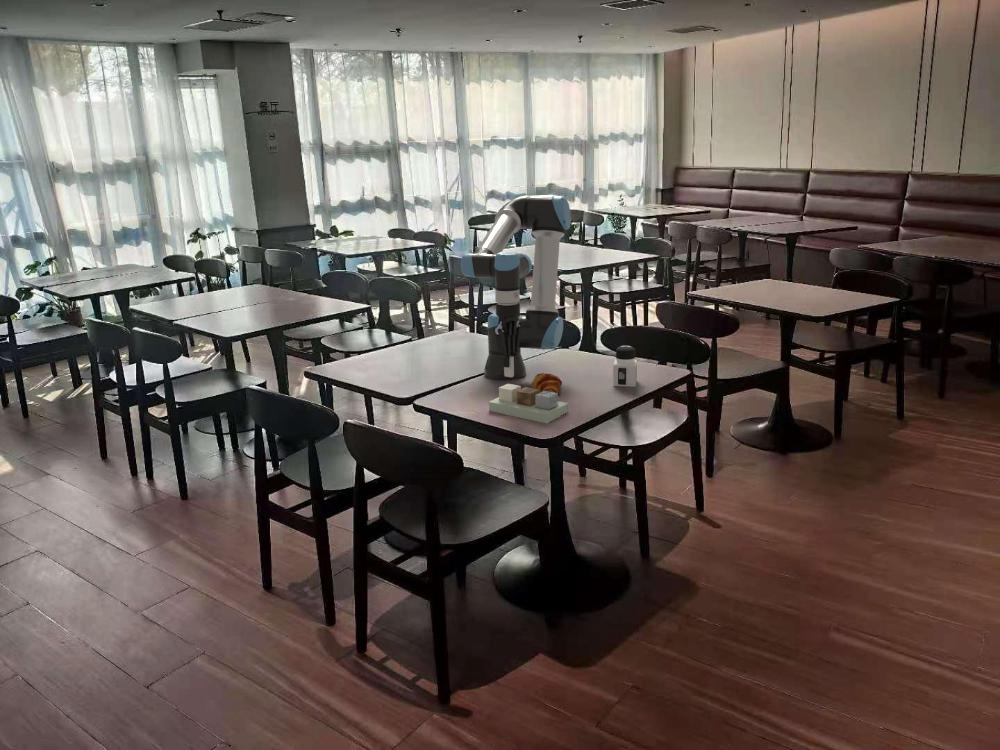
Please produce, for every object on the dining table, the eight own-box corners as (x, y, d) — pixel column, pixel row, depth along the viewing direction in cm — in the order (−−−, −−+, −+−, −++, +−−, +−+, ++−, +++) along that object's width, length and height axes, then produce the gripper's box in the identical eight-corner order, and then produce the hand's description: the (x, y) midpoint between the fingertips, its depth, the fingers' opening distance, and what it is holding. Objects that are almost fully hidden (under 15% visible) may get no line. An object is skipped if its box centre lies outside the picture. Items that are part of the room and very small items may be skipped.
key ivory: (499, 402, 258) (498, 387, 257) (508, 398, 262) (507, 383, 261) (511, 405, 256) (511, 390, 254) (520, 400, 259) (520, 386, 258)
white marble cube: (535, 410, 250) (535, 394, 249) (544, 405, 254) (544, 390, 253) (549, 413, 248) (549, 397, 246) (557, 408, 251) (557, 393, 250)
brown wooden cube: (517, 406, 254) (516, 391, 253) (526, 402, 258) (525, 387, 257) (530, 409, 252) (530, 393, 250) (539, 404, 255) (538, 389, 254)
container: (635, 387, 277) (636, 350, 273) (613, 386, 278) (613, 349, 274) (636, 380, 284) (637, 344, 280) (614, 379, 285) (615, 344, 281)
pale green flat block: (489, 410, 257) (488, 401, 256) (510, 400, 266) (510, 391, 266) (547, 423, 245) (547, 414, 244) (567, 412, 254) (567, 403, 253)
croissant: (534, 391, 286) (523, 373, 284) (559, 377, 285) (548, 358, 283) (543, 410, 266) (531, 390, 263) (570, 395, 265) (558, 375, 263)
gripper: (505, 307, 242) (506, 383, 249) (529, 300, 252) (530, 373, 259) (485, 305, 247) (487, 379, 253) (510, 298, 257) (511, 369, 263)
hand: (509, 376), depth 256 cm, fingers closed
